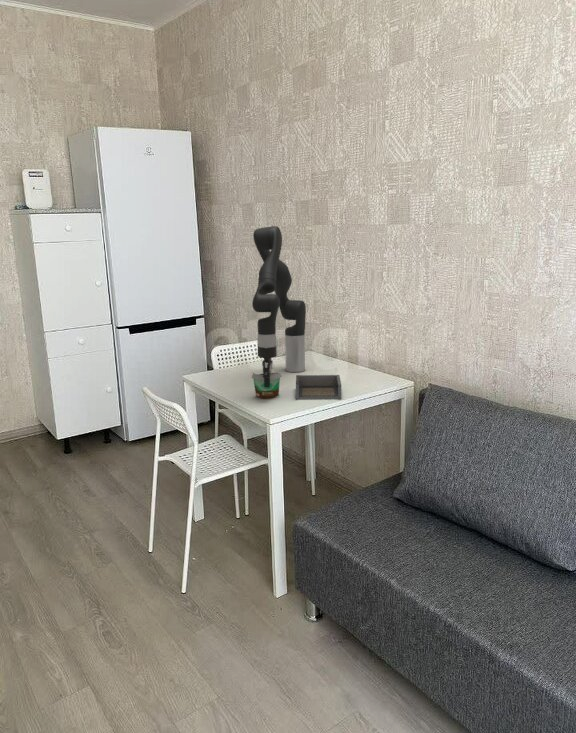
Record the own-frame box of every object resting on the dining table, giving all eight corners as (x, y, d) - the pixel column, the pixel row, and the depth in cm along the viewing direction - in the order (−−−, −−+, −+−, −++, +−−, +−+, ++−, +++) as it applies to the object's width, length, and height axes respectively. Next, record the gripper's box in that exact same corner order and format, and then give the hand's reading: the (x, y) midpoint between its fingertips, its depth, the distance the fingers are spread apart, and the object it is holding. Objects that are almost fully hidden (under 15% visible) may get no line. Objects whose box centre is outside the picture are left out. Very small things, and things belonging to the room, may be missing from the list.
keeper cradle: (296, 389, 253) (296, 375, 252) (339, 388, 253) (339, 374, 251) (295, 399, 239) (295, 384, 237) (341, 399, 238) (341, 384, 237)
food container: (255, 400, 238) (254, 376, 236) (252, 396, 244) (251, 372, 241) (285, 397, 241) (285, 373, 239) (281, 393, 247) (281, 370, 245)
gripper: (258, 341, 244) (259, 380, 248) (256, 348, 231) (257, 389, 234) (277, 341, 244) (278, 380, 248) (275, 348, 230) (276, 389, 234)
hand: (267, 384), depth 241 cm, fingers open, 8 cm apart
